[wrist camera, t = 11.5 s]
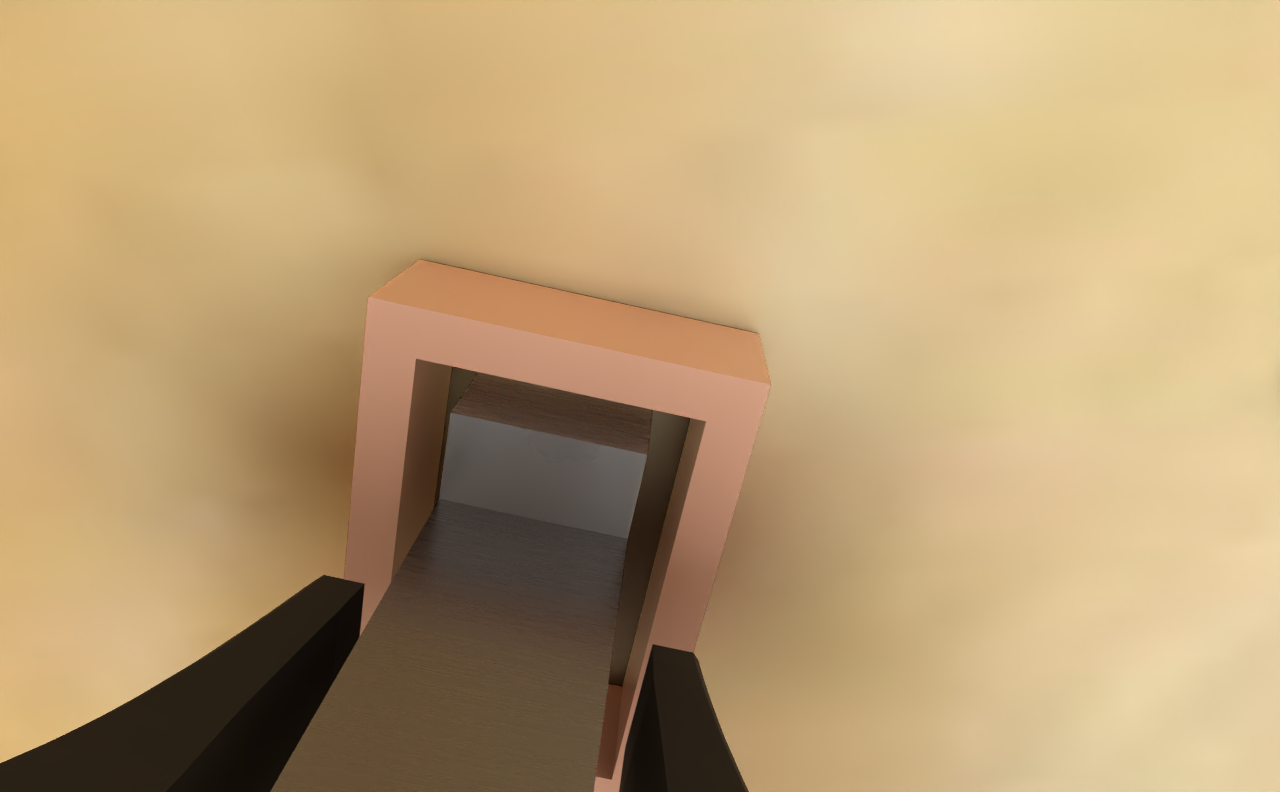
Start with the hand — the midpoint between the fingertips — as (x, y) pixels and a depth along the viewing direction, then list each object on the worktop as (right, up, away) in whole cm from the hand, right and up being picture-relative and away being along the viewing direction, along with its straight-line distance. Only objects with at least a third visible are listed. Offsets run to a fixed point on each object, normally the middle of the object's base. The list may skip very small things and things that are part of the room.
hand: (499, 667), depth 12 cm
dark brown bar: (0, +2, +4) cm, 5 cm away
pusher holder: (0, +2, +4) cm, 4 cm away
